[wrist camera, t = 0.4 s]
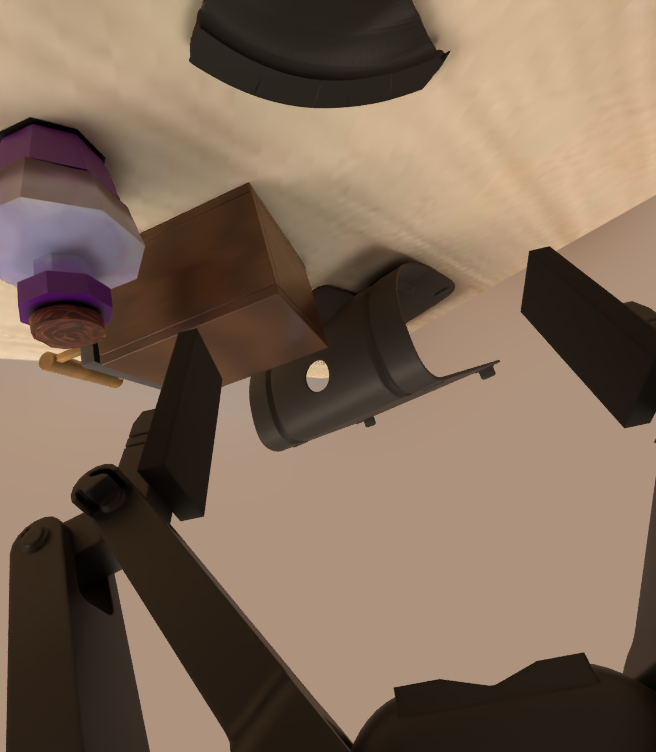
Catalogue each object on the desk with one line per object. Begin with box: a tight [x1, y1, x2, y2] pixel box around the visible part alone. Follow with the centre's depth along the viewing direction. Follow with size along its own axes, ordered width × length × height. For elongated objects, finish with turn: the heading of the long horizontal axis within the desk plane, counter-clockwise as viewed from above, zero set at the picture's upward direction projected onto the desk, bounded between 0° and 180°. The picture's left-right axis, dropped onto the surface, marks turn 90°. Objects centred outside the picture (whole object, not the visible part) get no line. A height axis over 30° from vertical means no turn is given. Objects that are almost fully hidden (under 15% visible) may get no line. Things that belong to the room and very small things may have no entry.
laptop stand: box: [249, 262, 500, 451], centre depth 54 cm, size 26×24×16 cm
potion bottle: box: [0, 117, 145, 349], centre depth 23 cm, size 9×9×12 cm
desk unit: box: [98, 183, 328, 387], centre depth 36 cm, size 15×13×10 cm
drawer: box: [39, 343, 162, 389], centre depth 37 cm, size 20×11×8 cm, turn 107°
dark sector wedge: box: [189, 0, 450, 108], centre depth 21 cm, size 8×14×2 cm, turn 56°
